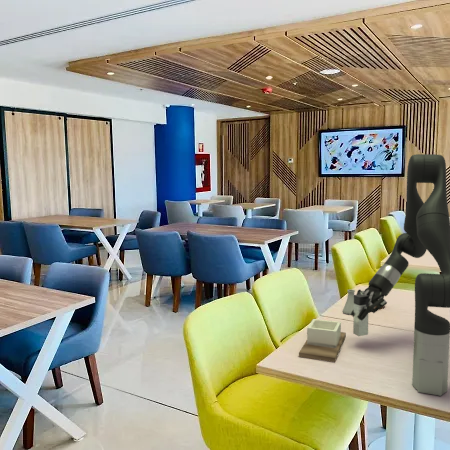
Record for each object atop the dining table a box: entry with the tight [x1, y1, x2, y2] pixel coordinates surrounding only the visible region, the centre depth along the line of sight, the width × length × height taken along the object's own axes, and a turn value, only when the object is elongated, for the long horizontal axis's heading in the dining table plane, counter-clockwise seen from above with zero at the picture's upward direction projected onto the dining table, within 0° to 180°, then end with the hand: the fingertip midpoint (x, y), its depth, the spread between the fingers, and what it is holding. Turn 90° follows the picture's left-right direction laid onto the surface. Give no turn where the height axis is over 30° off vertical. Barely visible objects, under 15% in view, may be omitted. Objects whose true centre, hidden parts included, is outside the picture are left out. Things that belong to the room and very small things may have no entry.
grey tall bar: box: [352, 294, 369, 337], centre depth 158 cm, size 3×4×14 cm
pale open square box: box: [306, 318, 342, 348], centre depth 161 cm, size 10×10×6 cm
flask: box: [342, 288, 356, 316], centre depth 195 cm, size 7×7×10 cm
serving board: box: [298, 331, 347, 363], centre depth 160 cm, size 24×12×2 cm, turn 157°
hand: (356, 317), depth 158 cm, fingers closed on grey tall bar, 3 cm apart
